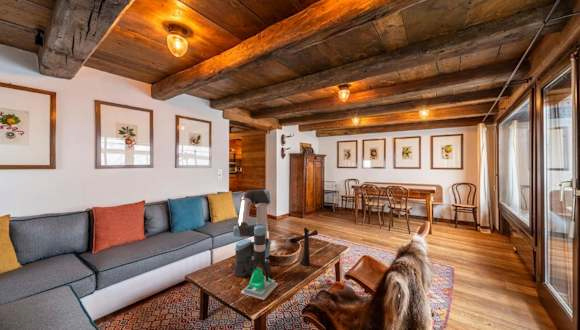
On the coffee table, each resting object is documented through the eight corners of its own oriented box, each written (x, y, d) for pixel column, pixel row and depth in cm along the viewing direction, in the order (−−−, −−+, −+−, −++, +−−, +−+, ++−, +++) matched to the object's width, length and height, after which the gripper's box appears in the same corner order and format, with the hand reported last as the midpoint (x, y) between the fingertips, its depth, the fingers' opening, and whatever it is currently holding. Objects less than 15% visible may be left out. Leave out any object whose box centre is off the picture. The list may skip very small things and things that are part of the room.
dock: (240, 293, 144) (240, 288, 144) (256, 279, 161) (256, 275, 161) (263, 300, 138) (263, 295, 137) (277, 284, 154) (277, 280, 154)
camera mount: (257, 290, 142) (257, 274, 142) (249, 286, 147) (249, 270, 147) (270, 282, 152) (270, 267, 152) (262, 278, 157) (262, 264, 156)
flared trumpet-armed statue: (295, 272, 171) (295, 233, 171) (286, 268, 178) (286, 230, 177) (320, 259, 193) (320, 224, 193) (312, 256, 200) (312, 222, 200)
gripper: (243, 249, 150) (243, 283, 150) (271, 254, 141) (271, 290, 142) (249, 245, 157) (249, 277, 157) (276, 250, 148) (276, 284, 148)
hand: (259, 283), depth 149 cm, fingers closed on camera mount, 9 cm apart
